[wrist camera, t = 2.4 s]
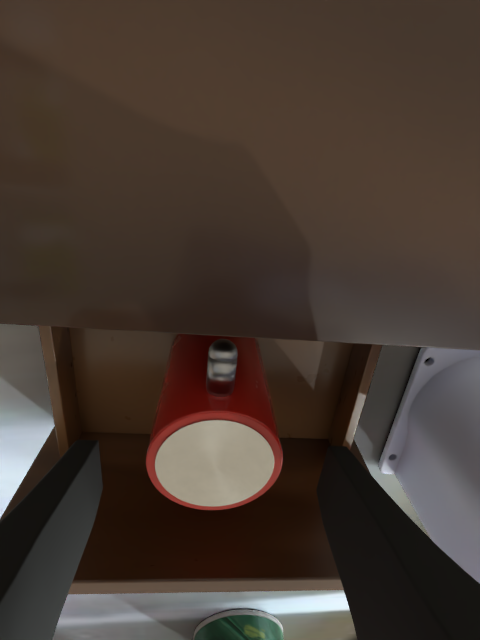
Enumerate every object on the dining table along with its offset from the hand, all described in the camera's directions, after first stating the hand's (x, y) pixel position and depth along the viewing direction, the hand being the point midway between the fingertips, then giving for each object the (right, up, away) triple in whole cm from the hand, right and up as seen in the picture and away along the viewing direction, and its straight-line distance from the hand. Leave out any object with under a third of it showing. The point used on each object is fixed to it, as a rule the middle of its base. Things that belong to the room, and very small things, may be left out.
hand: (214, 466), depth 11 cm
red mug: (0, +3, +6) cm, 7 cm away
